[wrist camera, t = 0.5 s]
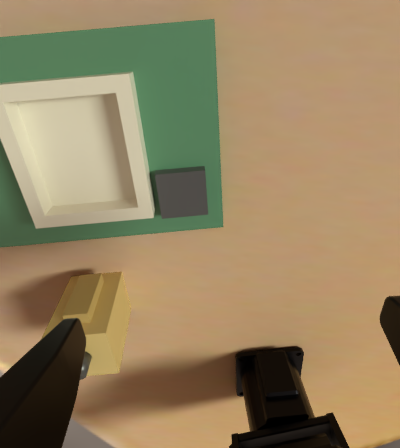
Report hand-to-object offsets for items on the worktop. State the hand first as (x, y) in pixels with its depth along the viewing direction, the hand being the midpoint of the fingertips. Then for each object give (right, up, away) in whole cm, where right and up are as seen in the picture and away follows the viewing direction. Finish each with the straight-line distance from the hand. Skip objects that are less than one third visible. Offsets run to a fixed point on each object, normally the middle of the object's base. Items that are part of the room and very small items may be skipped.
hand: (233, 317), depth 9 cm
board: (-8, +8, +10) cm, 15 cm away
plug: (-9, -3, +16) cm, 19 cm away
